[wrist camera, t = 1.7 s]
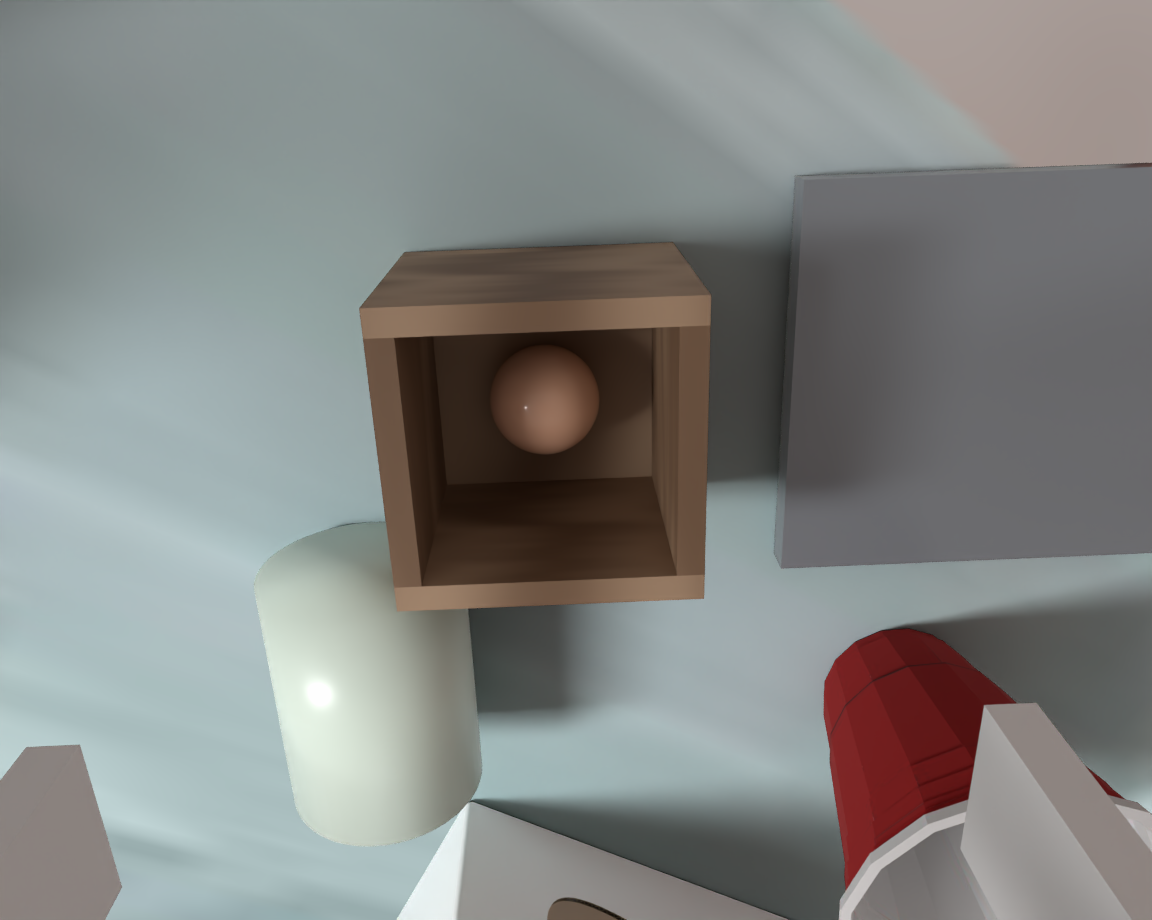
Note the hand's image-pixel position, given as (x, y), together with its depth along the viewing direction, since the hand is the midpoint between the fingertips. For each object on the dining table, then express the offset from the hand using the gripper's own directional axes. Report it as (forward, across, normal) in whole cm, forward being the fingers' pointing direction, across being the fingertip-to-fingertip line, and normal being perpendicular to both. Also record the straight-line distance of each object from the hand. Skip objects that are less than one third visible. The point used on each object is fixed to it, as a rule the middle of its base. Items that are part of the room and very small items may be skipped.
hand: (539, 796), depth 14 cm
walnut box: (+21, 0, 0) cm, 21 cm away
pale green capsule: (+21, -6, -10) cm, 24 cm away
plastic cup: (+21, +14, -14) cm, 29 cm away
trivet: (+21, +16, 0) cm, 26 cm away
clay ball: (+18, 0, 0) cm, 18 cm away
